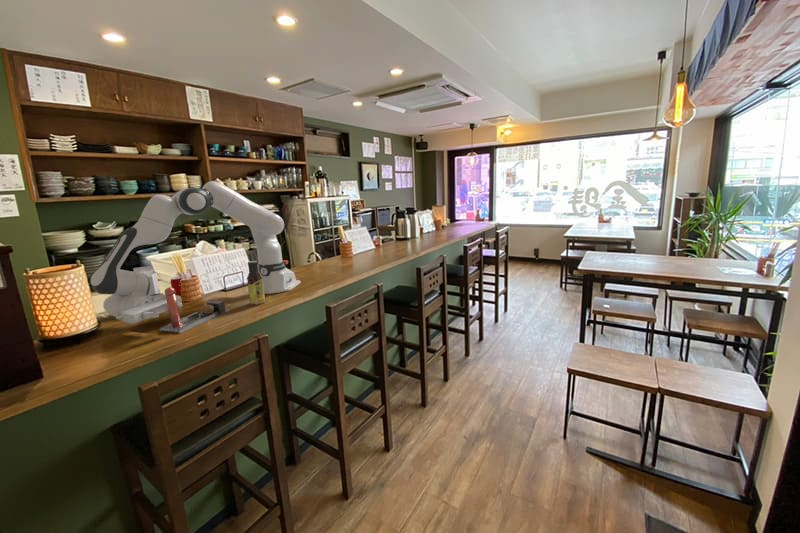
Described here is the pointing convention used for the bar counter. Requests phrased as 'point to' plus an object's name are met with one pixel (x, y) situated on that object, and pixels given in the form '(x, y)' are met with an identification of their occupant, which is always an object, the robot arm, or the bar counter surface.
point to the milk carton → (150, 278)
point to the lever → (174, 312)
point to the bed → (202, 316)
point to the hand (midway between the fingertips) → (169, 310)
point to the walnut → (208, 309)
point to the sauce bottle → (255, 284)
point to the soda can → (176, 285)
